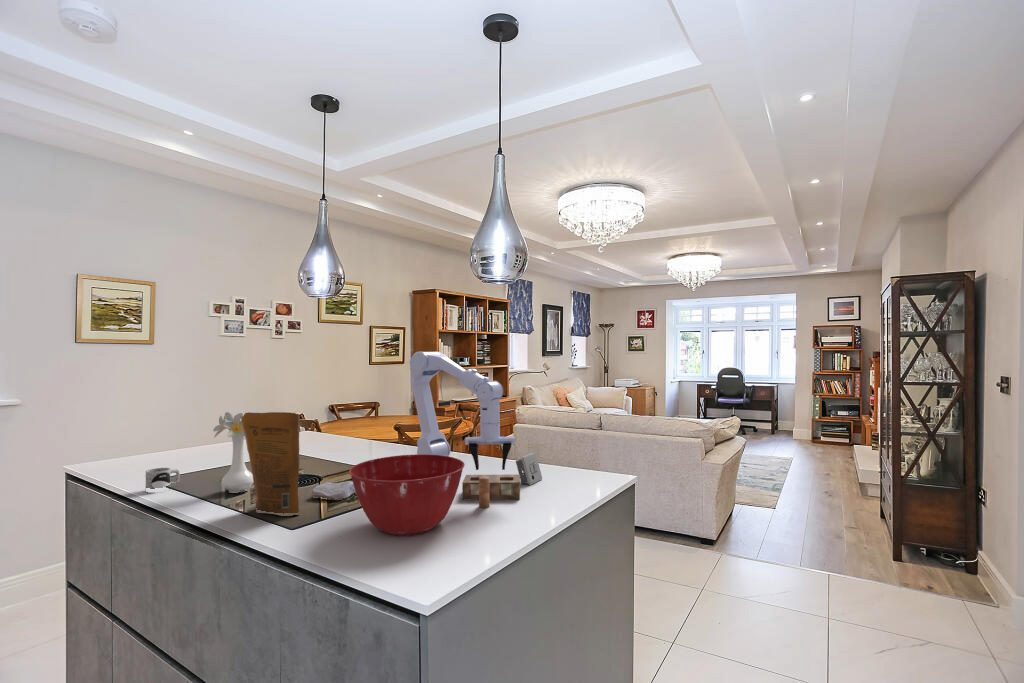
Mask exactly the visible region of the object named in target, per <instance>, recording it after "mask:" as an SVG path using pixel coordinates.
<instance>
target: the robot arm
mask: <svg viewBox="0 0 1024 683" xmlns="http://www.w3.org/2000/svg"><path fill="white" fill-rule="evenodd" d="M409 367H410V371H411V374H410V382H411V387H412V392H413V397H414V404H415V408H416V412H417V413H416V414H417V417H418V422H419V428H420V432H421V435H420V436H419V438H418V440H417V441H416V445H417V451H416V455H417V454H427V455H442V456H449V457H450V454H451V445H450V444H449V442H448V440H447V439H446V438H447V437H446V435H445V434H444V433H443V432H441V431H440V429H439V424H438V418H437V414H436V410H435V406H434V400H433V395H432V391H431V386H430V382H431V380H432V379H433V377H434V376H436V375H437V374H438V373H439V372H440V371H443V372H445V373H446V374H448V375H451V376H452V377H454V378H456V379H458V380H459V383H460V385H461V386H462V387H463V388H465V389H466V390H468V391H470V392H472V393H473V394H475V396H476V398H477V400H478V403H479V404H478V405H479V411H480V412H479V413H480V417H479V422H480V424H479V425H480V427H479V429H480V434H479V435H480V436H471V437H469V436H467V437H466V436H465V438H464V442H465V443H464V444H465V445H466V446H468V449H469V452H470V453H471V456H472V458H473V461H474V466H475V471H478V470H479V468H480V463H479V462H480V461H479V445H502V465H501V470H502V471H503V470H504V471H505V469H506V463H507V459H508V456H509V453H510V451H511V448H512V445H516V437H515V436H501V424H500V423H501V422H500V421H501V419H500V418H501V416H500V410H501V408H500V404H501V403H500V399H501V398H502V397H503V395H504V387H503V385H502V384H501V383H500V382H499V381H498V380H490V378H489V377H488V376H483V375H482V374H481V373H478V370H477V369H476V368H469V369H464V367H462V366H460V365H459V364H457V363H456V362H455V361H453V360H451V358H449V357H448V356H447V354H444V353H442V352H441V351H421V350H420V351H416V352H414V354H413V355H412V357H411V358H410V360H409Z"/></svg>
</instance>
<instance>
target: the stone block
mask: <svg viewBox="0 0 1024 683" xmlns="http://www.w3.org/2000/svg"><path fill="white" fill-rule="evenodd" d="M354 492H356V491H355V488H354V484H353V481H352V480H347V481H342V482H336V483H333V482H330V481H325V482H324V483H322V484H318V485H317V486H315V487H314V488H313V489H312V493H311V497H312V496H314V497H322V498H346V497H348V496H350V495H351V494H352V493H354Z"/></svg>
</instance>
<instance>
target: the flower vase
mask: <svg viewBox="0 0 1024 683" xmlns="http://www.w3.org/2000/svg"><path fill="white" fill-rule="evenodd" d="M241 416H244V414H243V413H242V412H240V413H237V414H235V415H234V416H233V415H232V414H231V413H230V412H229V411H226V412H224V416H222V415H220V416H219V417H218V425H216V426H215V427H214V428H213V430H212V431H213V433H214V432H216V433H215V435H214V436H213V437H214V438H216V437H217V436H218V435H219V434H221V433H222V432H224V430H226V429H228V432H227V437H228V438H231V442H232V457H231V458H232V460H231V465H230V468H229V470H228V472H227V473H226V474H225V475H224V476H223V477H222V479H221V486H222V488H224V489H225V490H226V491H227V490H229V491H240V490H245V489H247V488H249V489H250V487H251V486H252V485H254V482H253V474H252V471H250V470H249V469H248V468H247V465H246V463H245V456H244V441H245V434H244V430H243V427H242V422H241Z"/></svg>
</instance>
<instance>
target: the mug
mask: <svg viewBox="0 0 1024 683" xmlns="http://www.w3.org/2000/svg"><path fill="white" fill-rule="evenodd" d="M174 473H175V475H176V476H175V477H176V478H175V481H171V474H174ZM180 478H181V475H180V470H179V469H178V468H177V469H176V468H175V469H173V468H172V469H171V468H170V467H158V468H157V467H156V468H150V469H147V470H146V471H145V489H146V488H150V489H155V488H163V487H166V486H168V485H170V484H171V483H176V482H179V483H180V480H181V479H180Z"/></svg>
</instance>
